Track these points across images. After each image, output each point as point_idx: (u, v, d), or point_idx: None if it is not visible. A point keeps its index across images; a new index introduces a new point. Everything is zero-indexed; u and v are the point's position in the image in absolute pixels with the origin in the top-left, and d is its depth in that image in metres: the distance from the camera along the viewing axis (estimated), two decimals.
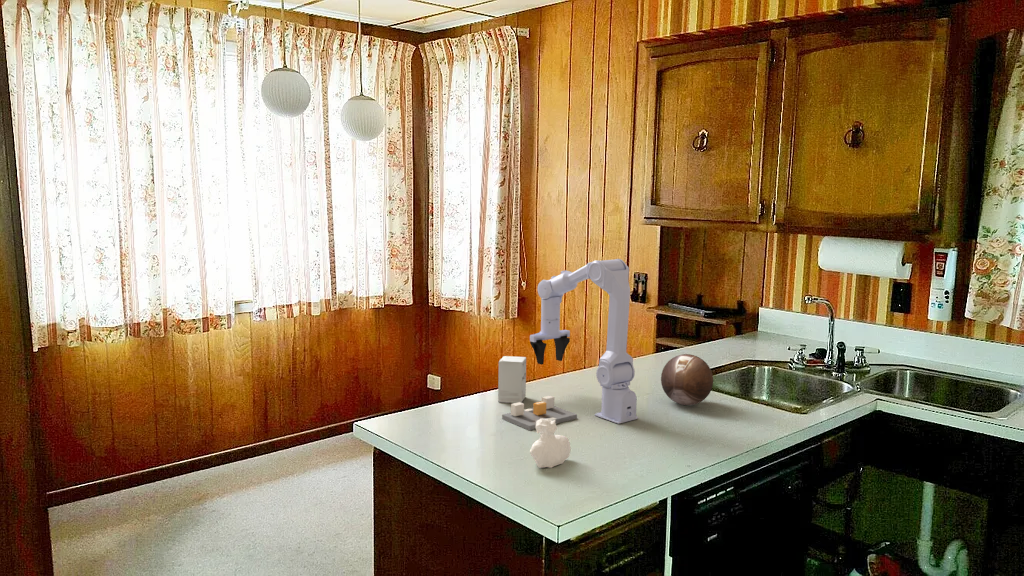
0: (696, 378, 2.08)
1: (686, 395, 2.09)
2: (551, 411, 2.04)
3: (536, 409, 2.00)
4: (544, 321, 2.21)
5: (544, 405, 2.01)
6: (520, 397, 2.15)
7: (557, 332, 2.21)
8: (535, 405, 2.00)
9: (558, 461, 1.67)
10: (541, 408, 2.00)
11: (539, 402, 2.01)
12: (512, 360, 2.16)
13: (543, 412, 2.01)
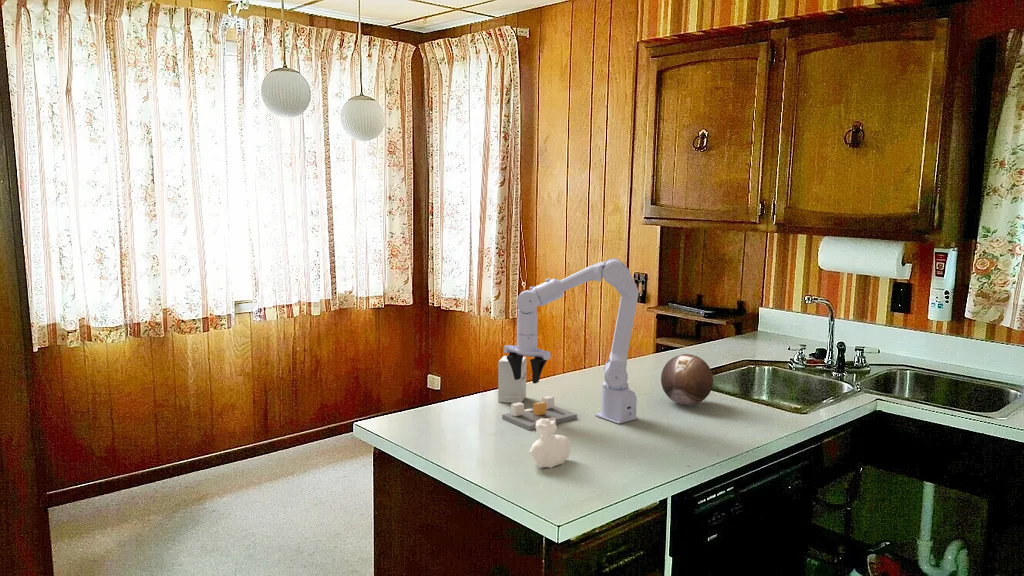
0: (696, 378, 2.08)
1: (686, 395, 2.09)
2: (551, 411, 2.04)
3: (536, 409, 2.00)
4: None
5: (544, 405, 2.01)
6: (520, 397, 2.15)
7: (522, 349, 2.01)
8: (535, 405, 2.00)
9: (558, 461, 1.67)
10: (541, 408, 2.00)
11: (539, 402, 2.01)
12: None
13: (543, 412, 2.01)
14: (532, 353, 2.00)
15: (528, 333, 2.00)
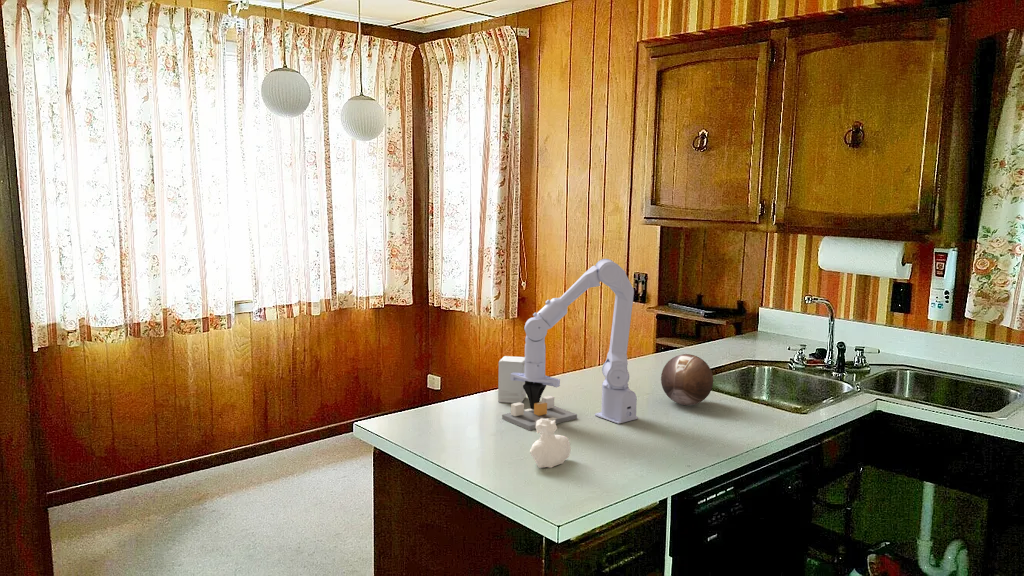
0: (696, 378, 2.08)
1: (686, 395, 2.09)
2: (551, 411, 2.04)
3: (537, 409, 2.00)
4: None
5: (545, 405, 2.01)
6: (520, 397, 2.15)
7: (531, 377, 1.99)
8: (536, 405, 2.00)
9: (558, 461, 1.67)
10: (542, 408, 2.00)
11: (540, 402, 2.01)
12: (512, 360, 2.16)
13: (544, 412, 2.01)
14: (542, 381, 1.99)
15: (537, 361, 1.99)
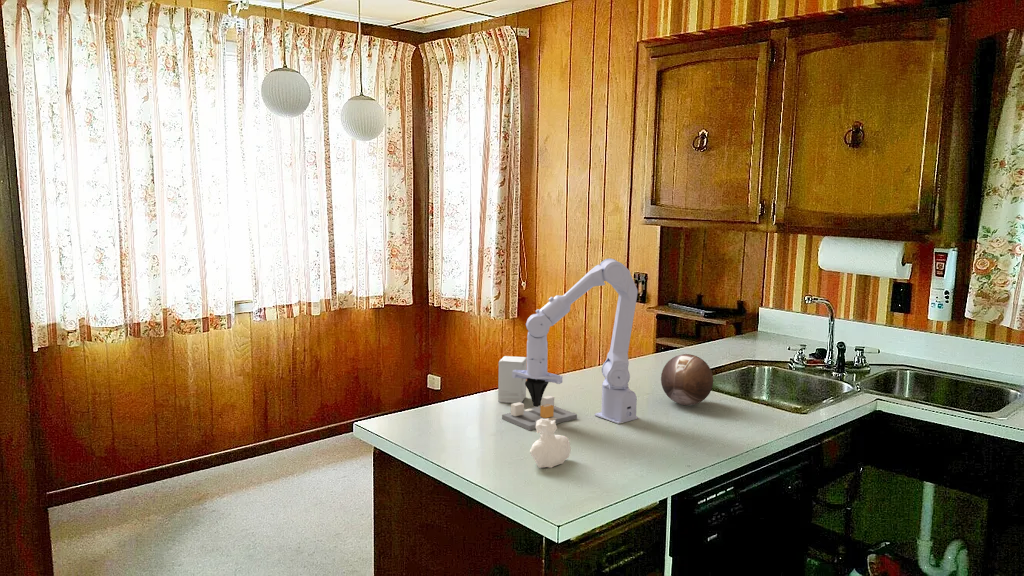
0: (696, 378, 2.08)
1: (686, 395, 2.09)
2: None
3: (543, 412, 1.98)
4: None
5: (551, 408, 1.98)
6: (520, 397, 2.15)
7: (534, 374, 1.98)
8: (542, 408, 1.98)
9: (558, 461, 1.67)
10: (548, 411, 1.98)
11: (546, 405, 1.99)
12: (512, 360, 2.16)
13: (550, 415, 1.98)
14: (544, 378, 1.98)
15: (540, 358, 1.98)
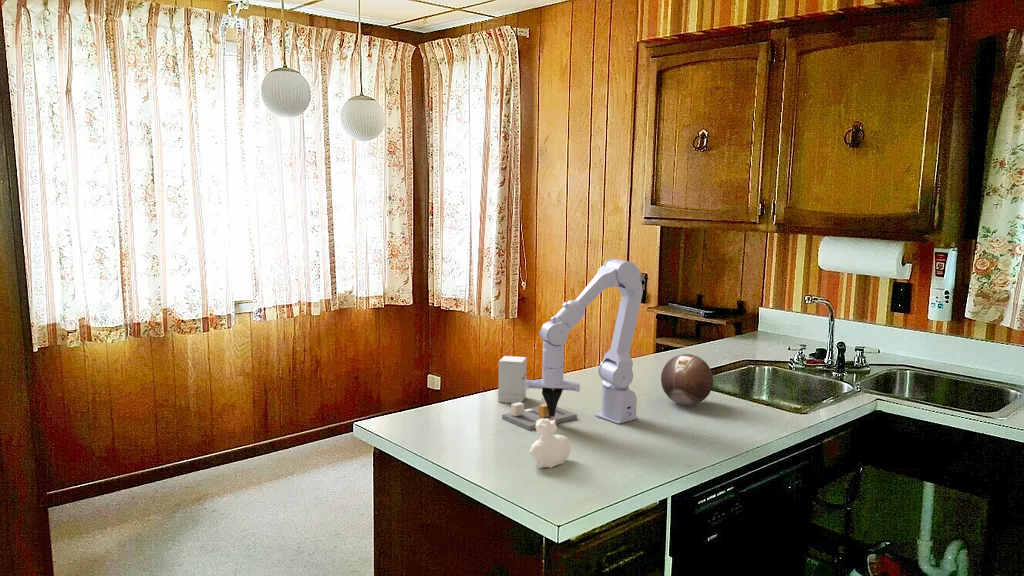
0: (696, 378, 2.08)
1: (686, 395, 2.09)
2: None
3: (542, 411, 1.98)
4: (542, 368, 1.95)
5: None
6: (520, 397, 2.15)
7: (553, 383, 1.93)
8: (540, 407, 1.98)
9: (558, 461, 1.67)
10: (546, 410, 1.98)
11: (545, 404, 1.99)
12: (512, 360, 2.16)
13: None
14: (564, 386, 1.93)
15: (559, 366, 1.93)
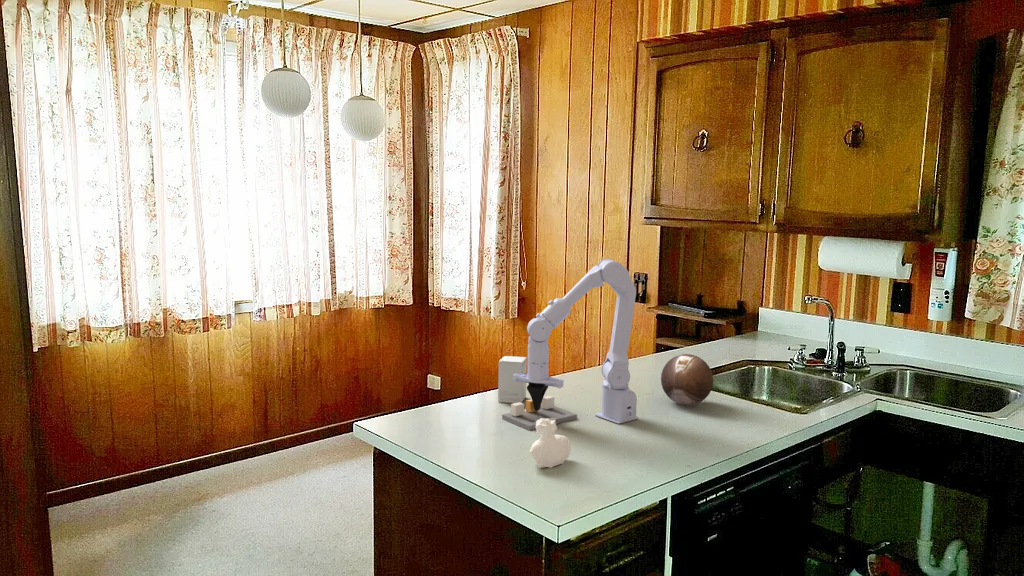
0: (696, 378, 2.08)
1: (686, 395, 2.09)
2: (551, 411, 2.04)
3: (528, 406, 2.03)
4: None
5: None
6: (520, 397, 2.15)
7: (535, 378, 1.98)
8: (527, 402, 2.03)
9: (558, 461, 1.67)
10: (533, 405, 2.03)
11: (531, 399, 2.04)
12: (512, 360, 2.16)
13: None
14: (545, 382, 1.98)
15: (541, 362, 1.97)
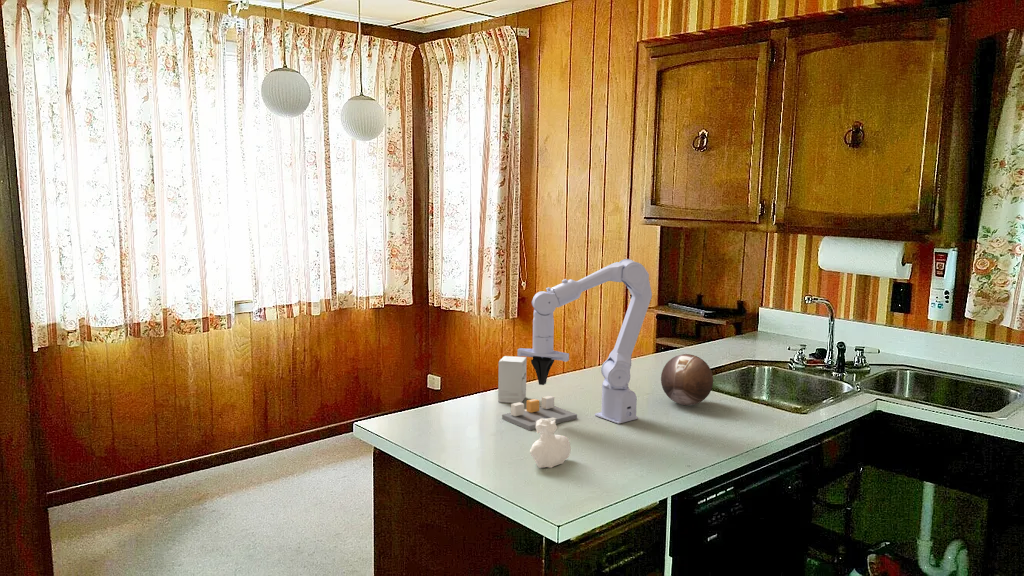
0: (696, 378, 2.08)
1: (686, 395, 2.09)
2: (551, 411, 2.04)
3: (529, 406, 2.02)
4: None
5: (537, 402, 2.03)
6: (520, 397, 2.15)
7: (540, 351, 1.97)
8: (528, 402, 2.03)
9: (558, 461, 1.67)
10: (534, 406, 2.03)
11: (532, 399, 2.04)
12: (512, 360, 2.16)
13: (536, 409, 2.03)
14: (551, 355, 1.96)
15: (546, 335, 1.96)
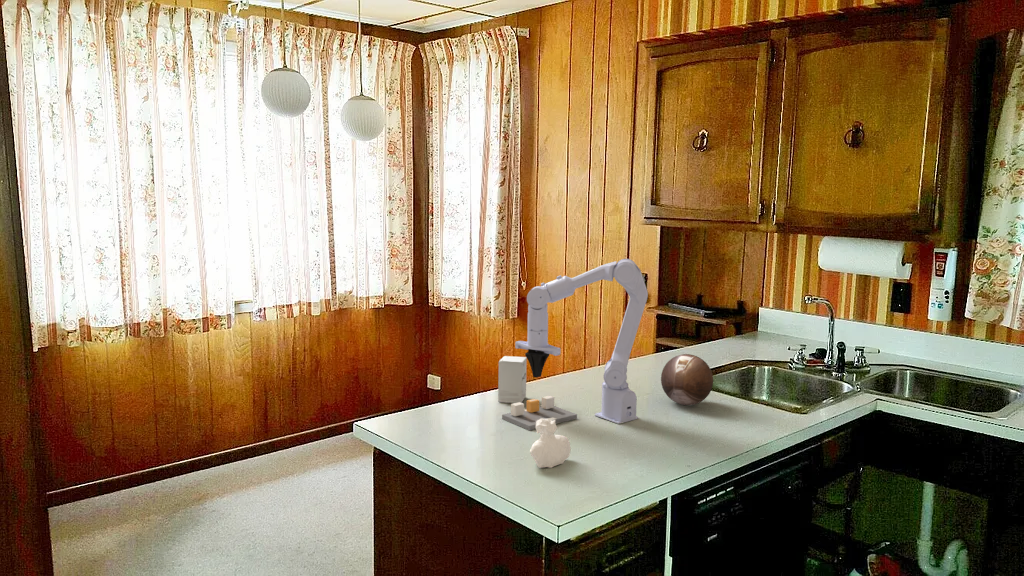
0: (696, 378, 2.08)
1: (686, 395, 2.09)
2: (551, 411, 2.04)
3: (529, 406, 2.02)
4: None
5: (537, 402, 2.03)
6: (520, 397, 2.15)
7: (532, 344, 2.02)
8: (528, 402, 2.03)
9: (558, 461, 1.67)
10: (534, 406, 2.03)
11: (532, 399, 2.04)
12: (512, 360, 2.16)
13: (536, 409, 2.03)
14: (542, 349, 2.01)
15: (538, 329, 2.01)
